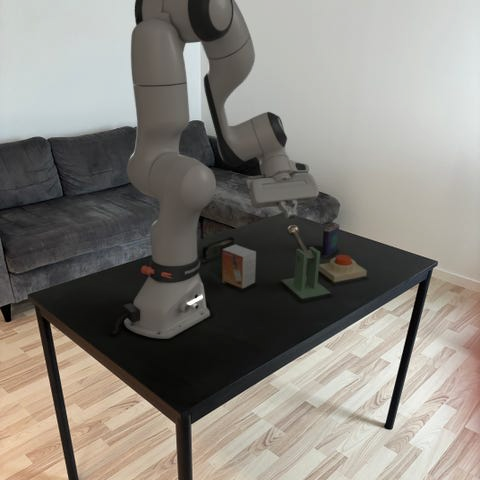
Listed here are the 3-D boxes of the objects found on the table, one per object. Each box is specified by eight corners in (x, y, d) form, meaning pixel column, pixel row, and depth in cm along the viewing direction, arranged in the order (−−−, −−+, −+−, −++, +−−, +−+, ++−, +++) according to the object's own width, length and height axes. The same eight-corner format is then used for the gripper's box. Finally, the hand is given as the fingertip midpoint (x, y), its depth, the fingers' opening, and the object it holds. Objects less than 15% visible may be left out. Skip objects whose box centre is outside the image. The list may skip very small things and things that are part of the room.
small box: (221, 283, 138) (221, 248, 132) (235, 277, 141) (235, 243, 136) (242, 291, 133) (242, 256, 128) (255, 285, 137) (256, 250, 131)
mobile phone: (229, 234, 159) (197, 246, 148) (236, 236, 157) (205, 248, 147) (228, 248, 161) (198, 261, 151) (235, 250, 159) (205, 263, 149)
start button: (340, 267, 138) (341, 261, 137) (332, 261, 141) (333, 256, 141) (353, 264, 139) (354, 259, 139) (345, 259, 143) (345, 253, 142)
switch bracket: (281, 283, 138) (283, 245, 132) (308, 278, 141) (311, 240, 135) (301, 302, 128) (304, 261, 122) (330, 296, 131) (334, 256, 125)
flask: (331, 247, 162) (334, 217, 156) (339, 249, 160) (342, 218, 155) (319, 256, 155) (322, 225, 149) (328, 258, 154) (331, 227, 148)
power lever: (284, 231, 136) (287, 223, 133) (294, 230, 137) (297, 221, 134) (303, 265, 129) (306, 257, 127) (313, 263, 130) (316, 255, 128)
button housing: (333, 285, 137) (335, 270, 135) (317, 272, 144) (318, 259, 142) (365, 278, 141) (367, 264, 138) (348, 267, 148) (350, 253, 146)
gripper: (247, 170, 130) (261, 216, 127) (313, 164, 137) (327, 207, 134) (241, 183, 136) (254, 227, 133) (304, 176, 143) (318, 218, 140)
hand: (291, 217), depth 133 cm, fingers closed
